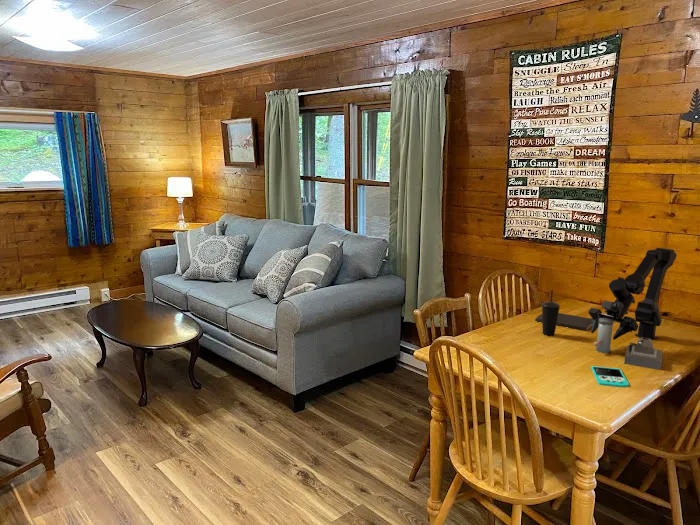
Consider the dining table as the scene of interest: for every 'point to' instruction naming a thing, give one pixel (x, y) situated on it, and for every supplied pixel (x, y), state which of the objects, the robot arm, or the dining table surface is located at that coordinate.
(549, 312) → the drinking cup
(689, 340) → the dining table surface
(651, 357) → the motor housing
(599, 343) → the grey capped cylinder
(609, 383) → the handheld game console
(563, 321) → the hardcover book
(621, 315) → the robot arm
